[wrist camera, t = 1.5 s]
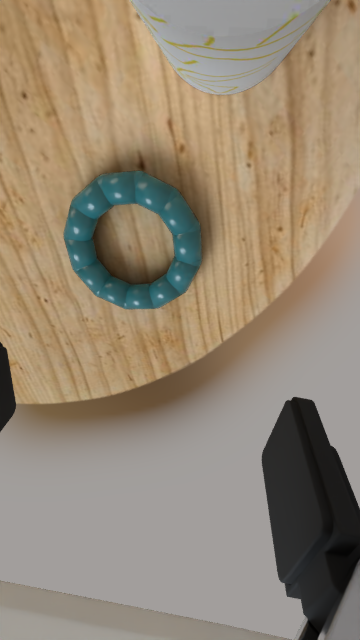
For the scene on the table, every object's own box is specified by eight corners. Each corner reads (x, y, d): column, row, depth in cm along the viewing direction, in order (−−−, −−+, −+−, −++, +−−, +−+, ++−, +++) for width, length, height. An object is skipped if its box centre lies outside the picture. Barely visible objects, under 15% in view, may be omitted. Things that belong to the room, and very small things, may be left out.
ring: (146, 136, 20) (140, 136, 18) (227, 261, 23) (228, 271, 22) (45, 225, 23) (31, 231, 22) (128, 321, 27) (122, 333, 25)
